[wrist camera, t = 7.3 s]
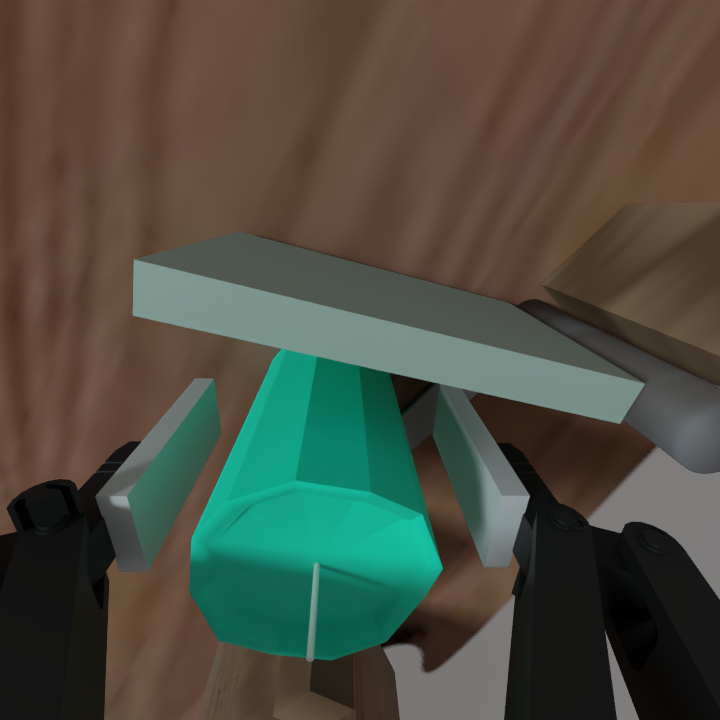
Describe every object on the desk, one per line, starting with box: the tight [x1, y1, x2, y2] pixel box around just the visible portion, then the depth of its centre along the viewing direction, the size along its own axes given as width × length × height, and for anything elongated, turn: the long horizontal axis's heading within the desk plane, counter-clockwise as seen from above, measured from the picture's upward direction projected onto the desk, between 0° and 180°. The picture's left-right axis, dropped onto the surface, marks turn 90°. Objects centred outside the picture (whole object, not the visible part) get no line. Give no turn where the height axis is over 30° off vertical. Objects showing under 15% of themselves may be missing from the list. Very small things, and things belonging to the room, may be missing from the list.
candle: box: [190, 349, 443, 662], centre depth 12 cm, size 6×6×12 cm
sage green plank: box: [133, 232, 645, 424], centre depth 12 cm, size 12×1×8 cm, turn 75°
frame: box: [230, 203, 720, 720], centre depth 15 cm, size 25×2×10 cm, turn 138°
